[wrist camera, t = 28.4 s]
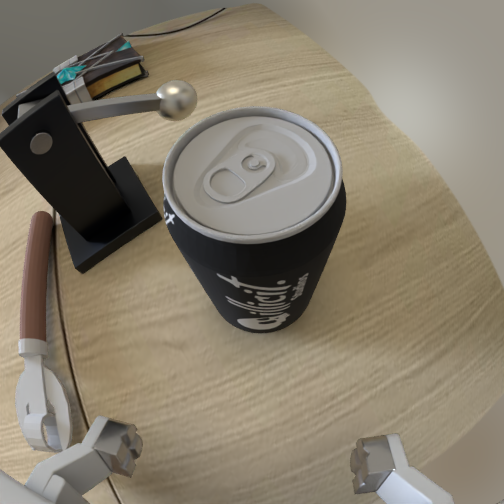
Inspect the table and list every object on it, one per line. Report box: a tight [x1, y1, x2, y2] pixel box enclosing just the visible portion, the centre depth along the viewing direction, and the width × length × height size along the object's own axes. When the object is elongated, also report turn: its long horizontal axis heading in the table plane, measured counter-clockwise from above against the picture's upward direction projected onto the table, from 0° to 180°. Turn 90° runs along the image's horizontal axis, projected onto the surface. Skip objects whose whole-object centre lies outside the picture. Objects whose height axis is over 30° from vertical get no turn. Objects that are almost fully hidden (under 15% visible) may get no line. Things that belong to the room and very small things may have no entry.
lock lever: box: [18, 80, 197, 123], centre depth 16 cm, size 13×3×3 cm, turn 126°
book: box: [16, 33, 149, 105], centre depth 32 cm, size 22×17×5 cm
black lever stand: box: [0, 72, 162, 274], centre depth 17 cm, size 8×8×13 cm
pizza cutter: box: [15, 211, 73, 452], centre depth 18 cm, size 20×6×3 cm, turn 19°
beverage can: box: [162, 106, 346, 333], centre depth 14 cm, size 7×7×12 cm
